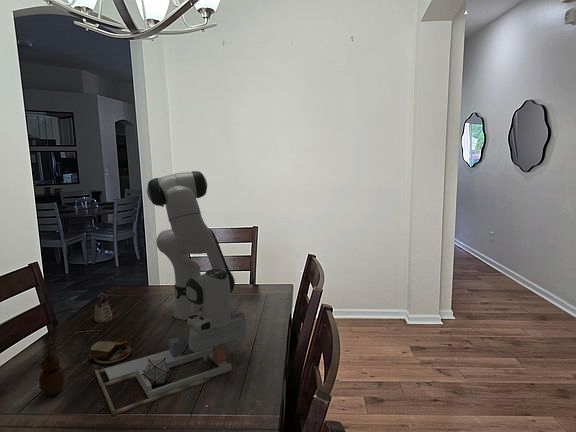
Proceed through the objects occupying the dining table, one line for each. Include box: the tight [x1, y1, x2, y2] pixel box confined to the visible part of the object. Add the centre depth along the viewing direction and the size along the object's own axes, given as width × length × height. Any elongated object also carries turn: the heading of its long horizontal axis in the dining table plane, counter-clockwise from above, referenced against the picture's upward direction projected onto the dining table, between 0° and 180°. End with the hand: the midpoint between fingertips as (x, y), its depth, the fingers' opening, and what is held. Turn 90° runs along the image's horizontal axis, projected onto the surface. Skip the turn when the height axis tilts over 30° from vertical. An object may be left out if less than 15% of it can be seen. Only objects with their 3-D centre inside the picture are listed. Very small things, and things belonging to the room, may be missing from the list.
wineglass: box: [187, 312, 202, 329], centre depth 145 cm, size 7×7×12 cm
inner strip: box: [104, 336, 184, 382], centre depth 131 cm, size 24×8×6 cm, turn 126°
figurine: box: [93, 292, 113, 324], centre depth 169 cm, size 7×7×12 cm
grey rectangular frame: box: [135, 344, 233, 399], centre depth 127 cm, size 27×14×5 cm, turn 126°
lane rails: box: [94, 349, 210, 416], centre depth 125 cm, size 29×26×1 cm
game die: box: [141, 357, 172, 386], centre depth 121 cm, size 9×8×10 cm
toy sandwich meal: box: [88, 340, 132, 365], centre depth 138 cm, size 12×14×5 cm
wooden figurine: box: [38, 342, 66, 397], centre depth 116 cm, size 7×6×15 cm
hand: (218, 355), depth 134 cm, fingers open, 8 cm apart
